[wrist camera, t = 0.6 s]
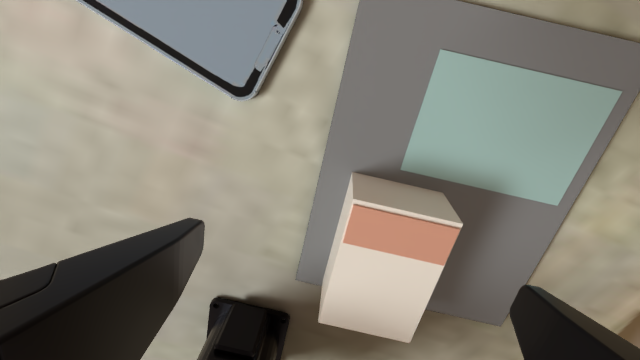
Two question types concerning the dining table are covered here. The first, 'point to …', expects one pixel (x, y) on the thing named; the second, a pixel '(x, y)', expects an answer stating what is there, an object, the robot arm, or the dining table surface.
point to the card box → (386, 257)
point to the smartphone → (209, 35)
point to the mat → (473, 133)
